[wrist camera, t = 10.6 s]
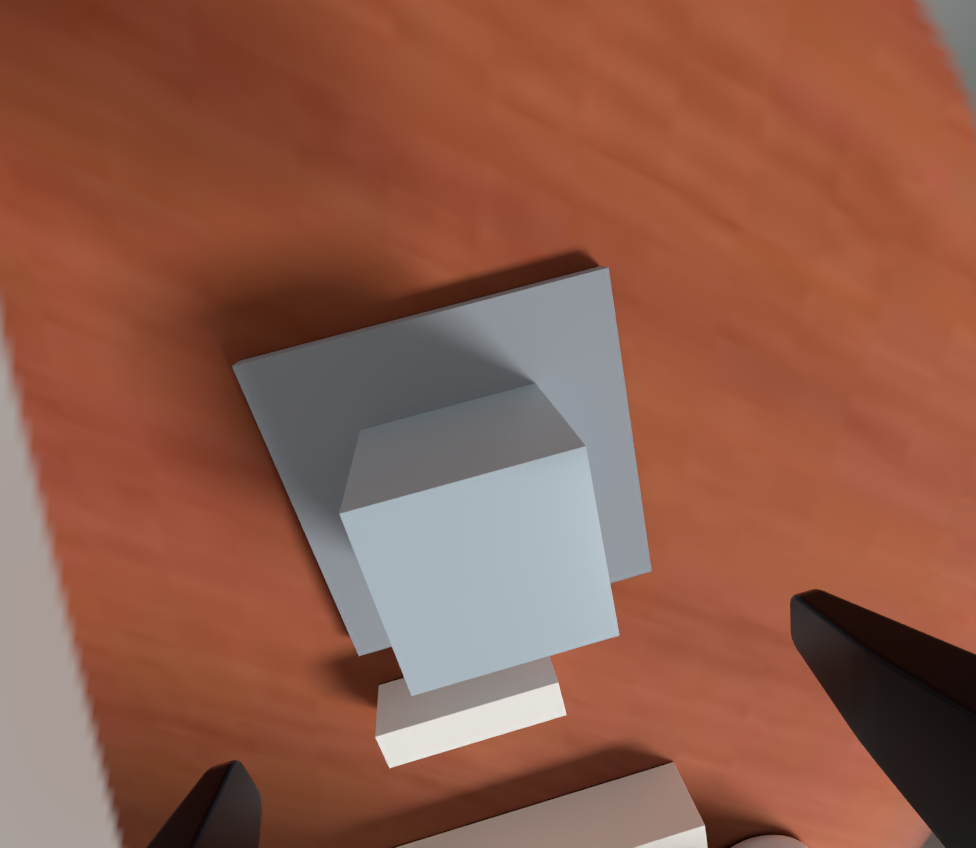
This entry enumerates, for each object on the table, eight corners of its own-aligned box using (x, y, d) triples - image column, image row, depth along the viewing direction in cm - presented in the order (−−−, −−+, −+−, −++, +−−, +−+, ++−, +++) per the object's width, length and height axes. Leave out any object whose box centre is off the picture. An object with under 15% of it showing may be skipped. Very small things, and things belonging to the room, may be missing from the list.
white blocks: (384, 928, 23) (381, 1006, 21) (266, 718, 18) (245, 790, 16) (684, 834, 24) (714, 900, 21) (650, 605, 19) (684, 659, 16)
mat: (360, 642, 18) (358, 656, 17) (239, 361, 14) (232, 366, 13) (644, 560, 18) (651, 571, 17) (600, 266, 14) (608, 267, 14)
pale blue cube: (411, 575, 16) (411, 696, 12) (359, 430, 14) (339, 513, 10) (566, 531, 16) (619, 635, 12) (535, 383, 15) (586, 446, 10)
